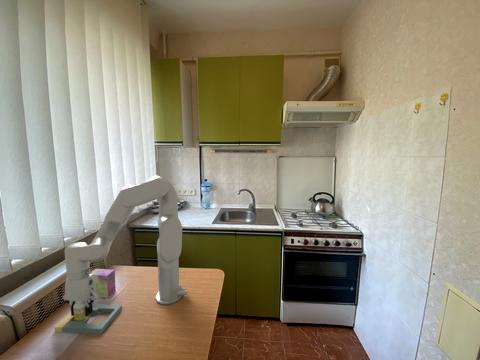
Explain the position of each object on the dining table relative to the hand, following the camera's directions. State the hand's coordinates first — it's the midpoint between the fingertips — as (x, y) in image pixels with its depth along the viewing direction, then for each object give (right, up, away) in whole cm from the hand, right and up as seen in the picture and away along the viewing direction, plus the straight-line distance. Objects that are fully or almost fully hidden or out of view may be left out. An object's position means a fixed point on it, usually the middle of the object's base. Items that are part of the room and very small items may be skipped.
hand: (82, 313), depth 88 cm
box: (-2, -1, +17) cm, 17 cm away
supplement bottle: (0, -3, 0) cm, 3 cm away
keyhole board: (+4, -3, 0) cm, 5 cm away
